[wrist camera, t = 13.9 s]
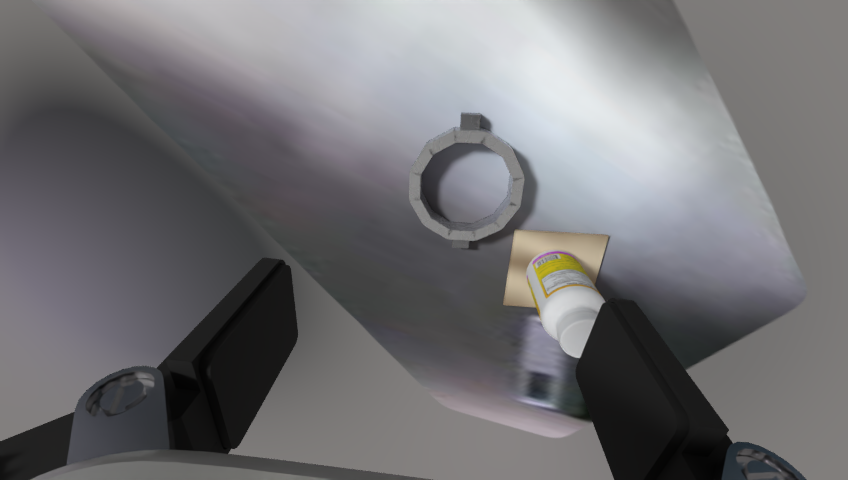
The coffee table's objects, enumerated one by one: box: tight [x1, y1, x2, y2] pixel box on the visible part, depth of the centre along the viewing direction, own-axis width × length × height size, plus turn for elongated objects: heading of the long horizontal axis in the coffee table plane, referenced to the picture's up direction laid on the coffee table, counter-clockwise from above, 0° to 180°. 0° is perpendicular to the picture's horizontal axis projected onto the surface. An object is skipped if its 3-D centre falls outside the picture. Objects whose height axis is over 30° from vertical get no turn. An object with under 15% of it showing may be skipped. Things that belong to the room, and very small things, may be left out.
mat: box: [503, 229, 609, 307], centre depth 44 cm, size 11×11×1 cm
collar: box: [409, 113, 525, 248], centre depth 40 cm, size 15×12×2 cm
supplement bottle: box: [526, 250, 605, 358], centre depth 38 cm, size 7×7×13 cm
